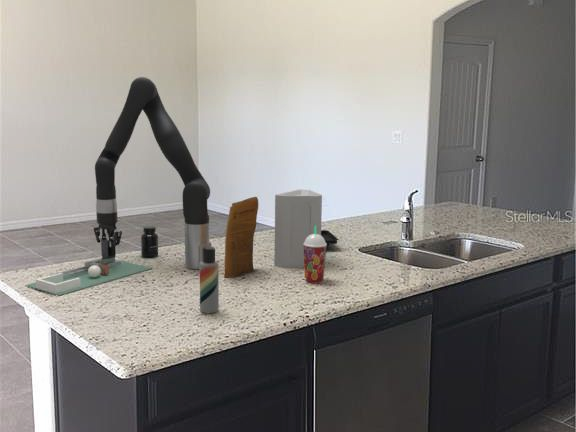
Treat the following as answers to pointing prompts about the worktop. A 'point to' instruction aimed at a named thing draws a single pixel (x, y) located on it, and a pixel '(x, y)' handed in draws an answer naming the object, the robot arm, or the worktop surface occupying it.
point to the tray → (328, 237)
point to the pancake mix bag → (240, 237)
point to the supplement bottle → (149, 242)
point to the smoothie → (314, 257)
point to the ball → (94, 271)
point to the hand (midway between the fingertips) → (108, 254)
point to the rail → (82, 271)
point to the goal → (57, 283)
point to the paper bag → (295, 225)
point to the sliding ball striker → (103, 258)
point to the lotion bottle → (209, 282)
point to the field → (103, 276)
